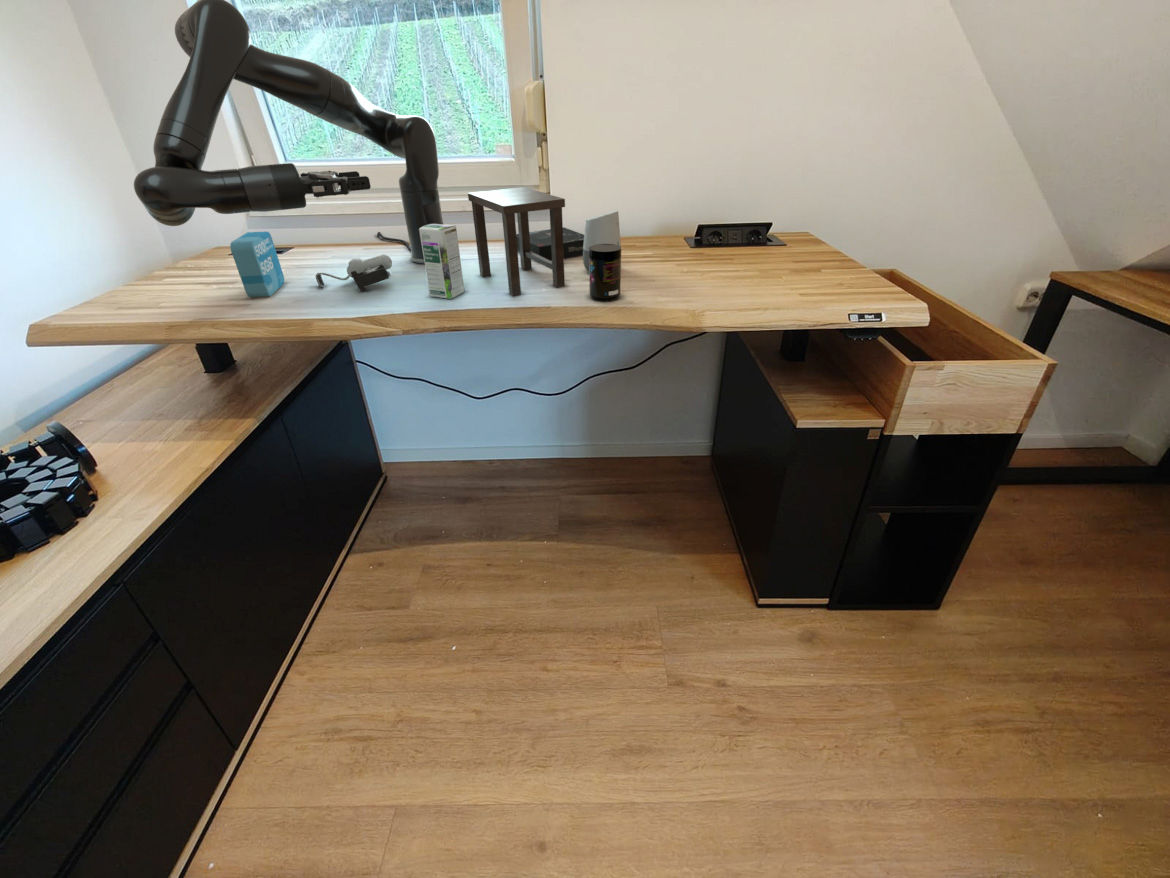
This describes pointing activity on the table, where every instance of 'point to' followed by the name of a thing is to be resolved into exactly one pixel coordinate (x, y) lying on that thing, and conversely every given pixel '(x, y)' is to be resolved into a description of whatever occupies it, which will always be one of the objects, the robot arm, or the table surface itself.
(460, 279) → the syrup box
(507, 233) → the side table
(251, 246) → the data package
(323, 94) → the robot arm
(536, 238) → the black flat box
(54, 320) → the table surface
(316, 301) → the table surface
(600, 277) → the supplement container
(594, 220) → the smart speaker
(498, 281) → the table surface
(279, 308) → the table surface
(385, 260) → the clip-on lamp
